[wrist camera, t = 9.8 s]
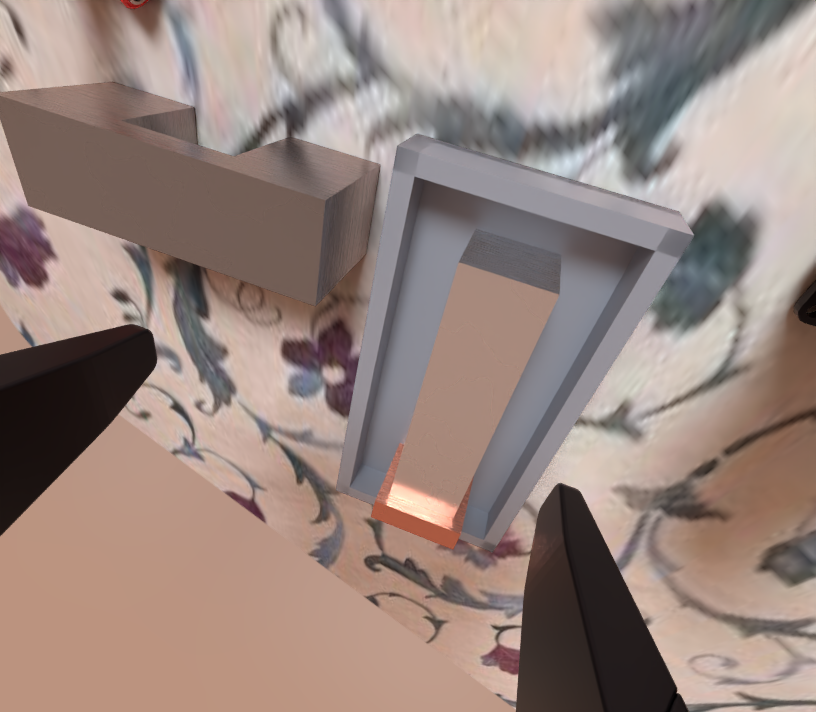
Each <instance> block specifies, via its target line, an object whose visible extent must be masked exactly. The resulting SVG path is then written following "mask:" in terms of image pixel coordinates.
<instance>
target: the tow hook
mask: <svg viewBox="0 0 816 712" xmlns="http://www.w3.org/2000/svg"><path fill="white" fill-rule="evenodd" d="M120 1H121V2H122V3H123V4H124V5H125V6H126V7H127V8H130V9H135V8H139V7H141V6H143V5H144V4H145V3H146V2H147V1H148V0H120Z"/></svg>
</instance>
